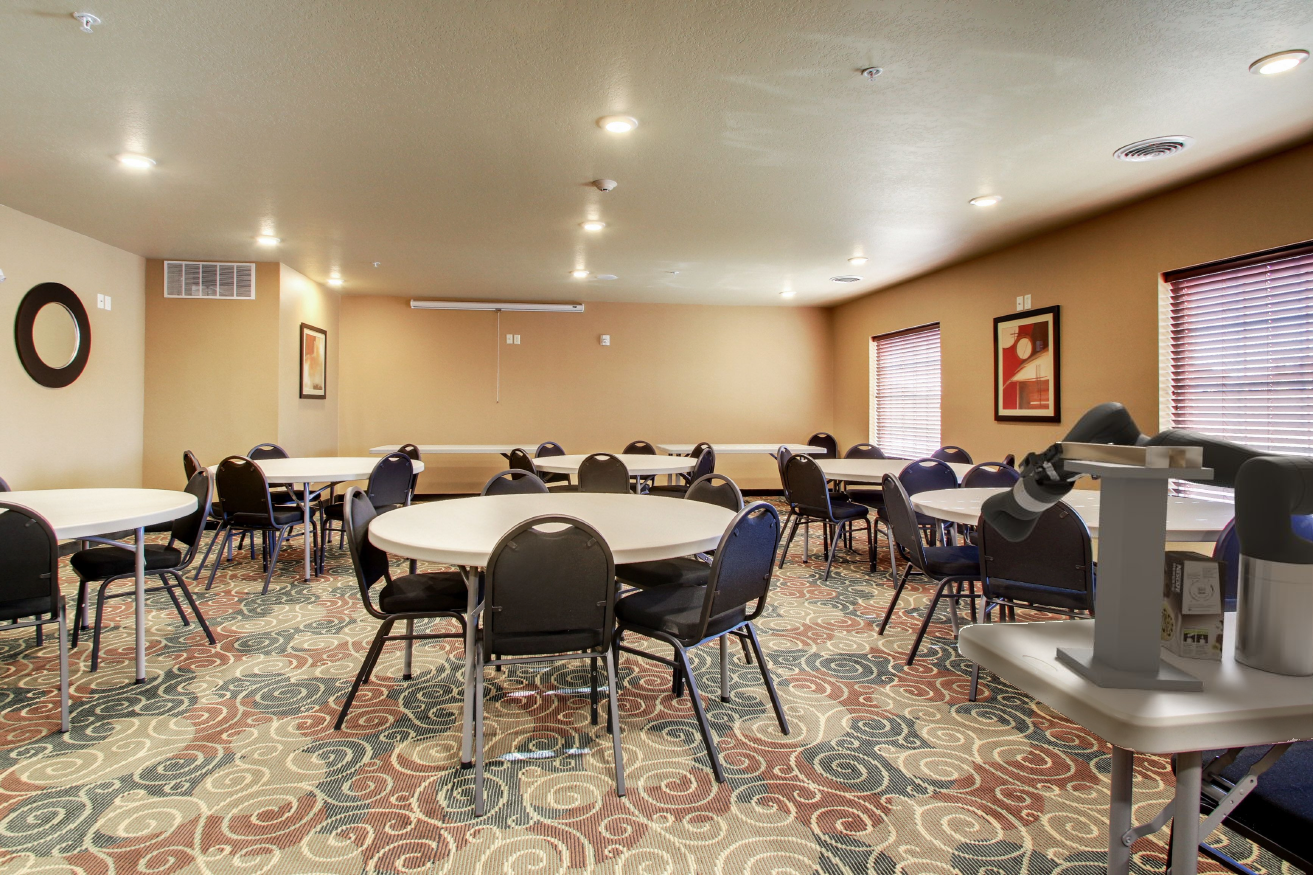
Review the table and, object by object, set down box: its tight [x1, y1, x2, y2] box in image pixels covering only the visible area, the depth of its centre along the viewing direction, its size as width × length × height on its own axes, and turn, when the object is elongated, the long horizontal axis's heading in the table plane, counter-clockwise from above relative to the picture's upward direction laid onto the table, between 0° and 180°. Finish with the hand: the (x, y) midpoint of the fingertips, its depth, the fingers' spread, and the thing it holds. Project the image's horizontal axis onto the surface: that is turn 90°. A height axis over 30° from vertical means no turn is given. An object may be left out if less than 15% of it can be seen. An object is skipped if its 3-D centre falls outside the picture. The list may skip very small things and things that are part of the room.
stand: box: [1055, 460, 1214, 693], centre depth 100 cm, size 14×12×32 cm
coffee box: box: [1161, 550, 1228, 661], centre depth 111 cm, size 9×6×16 cm
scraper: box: [1060, 441, 1203, 468], centre depth 104 cm, size 8×22×3 cm, turn 7°
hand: (1086, 447), depth 111 cm, fingers open, 8 cm apart
